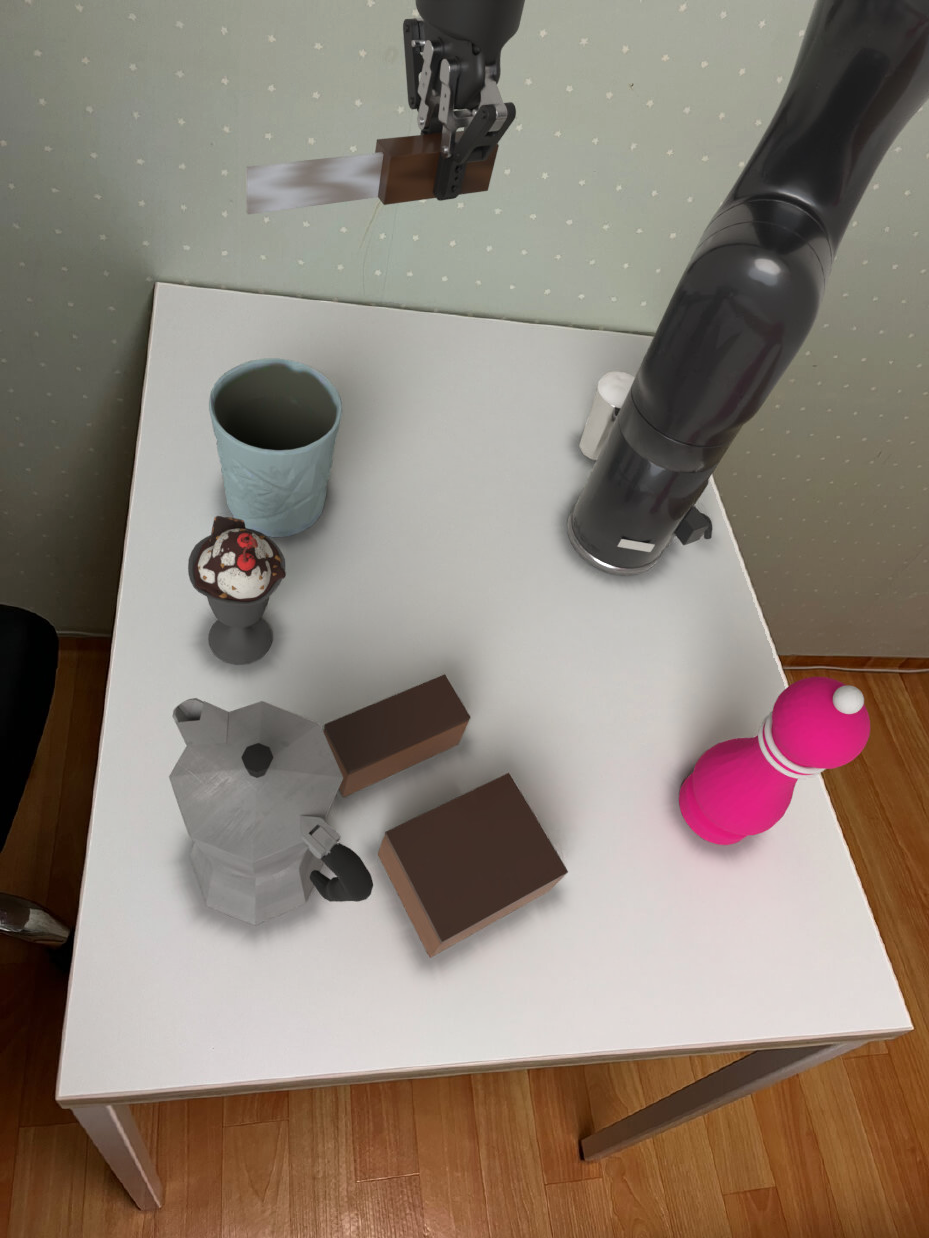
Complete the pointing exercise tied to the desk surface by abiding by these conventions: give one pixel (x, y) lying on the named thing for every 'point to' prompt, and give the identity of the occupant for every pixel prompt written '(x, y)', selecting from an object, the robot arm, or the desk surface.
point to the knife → (360, 176)
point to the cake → (469, 863)
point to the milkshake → (604, 411)
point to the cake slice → (396, 733)
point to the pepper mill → (774, 760)
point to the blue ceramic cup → (275, 442)
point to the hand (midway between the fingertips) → (436, 185)
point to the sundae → (237, 587)
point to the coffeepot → (261, 810)
